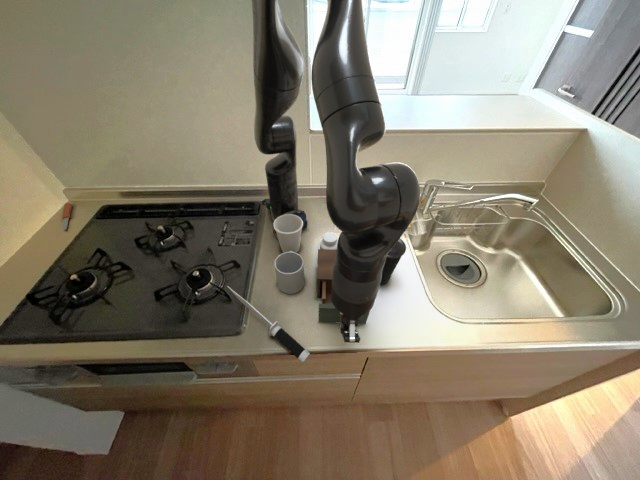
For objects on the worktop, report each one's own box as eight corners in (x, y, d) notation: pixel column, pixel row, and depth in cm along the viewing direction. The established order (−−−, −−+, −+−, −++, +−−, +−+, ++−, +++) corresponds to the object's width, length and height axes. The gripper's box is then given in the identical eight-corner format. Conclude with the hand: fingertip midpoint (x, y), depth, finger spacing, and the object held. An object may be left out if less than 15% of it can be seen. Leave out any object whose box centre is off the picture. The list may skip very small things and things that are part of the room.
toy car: (271, 221, 78) (281, 233, 76) (303, 207, 84) (313, 217, 81) (272, 234, 83) (281, 245, 80) (302, 219, 88) (312, 229, 86)
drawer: (366, 328, 60) (371, 314, 55) (318, 327, 60) (318, 313, 55) (362, 293, 67) (366, 278, 62) (319, 292, 67) (319, 276, 62)
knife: (308, 357, 58) (311, 349, 54) (301, 366, 56) (304, 359, 52) (232, 288, 66) (230, 277, 62) (224, 295, 64) (221, 284, 61)
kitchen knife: (73, 204, 92) (66, 206, 91) (70, 201, 91) (63, 203, 90) (70, 230, 82) (62, 232, 82) (67, 227, 81) (59, 229, 81)
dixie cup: (307, 240, 81) (306, 216, 74) (298, 260, 76) (297, 236, 68) (282, 235, 83) (279, 211, 76) (272, 254, 77) (268, 229, 70)
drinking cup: (387, 266, 75) (405, 213, 61) (397, 287, 70) (419, 235, 55) (362, 269, 74) (374, 216, 60) (370, 291, 69) (386, 239, 54)
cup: (276, 294, 67) (272, 273, 61) (280, 264, 74) (277, 243, 68) (303, 295, 67) (302, 274, 61) (305, 265, 74) (304, 244, 68)
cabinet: (364, 299, 67) (370, 280, 61) (316, 298, 67) (317, 278, 61) (361, 270, 74) (365, 250, 67) (317, 269, 74) (318, 249, 67)
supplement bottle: (336, 268, 74) (338, 245, 67) (317, 265, 75) (318, 242, 68) (338, 254, 78) (341, 231, 71) (321, 251, 78) (322, 228, 71)
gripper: (331, 250, 46) (327, 302, 58) (332, 319, 36) (327, 363, 49) (373, 252, 46) (360, 303, 58) (385, 321, 36) (366, 364, 49)
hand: (345, 330), depth 53 cm, fingers closed
